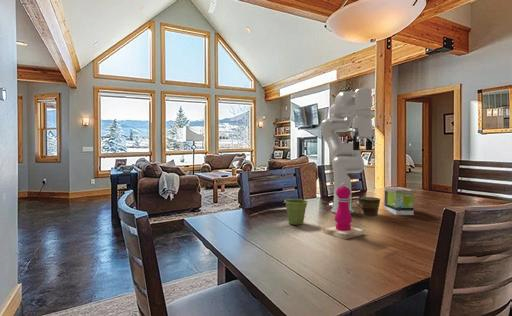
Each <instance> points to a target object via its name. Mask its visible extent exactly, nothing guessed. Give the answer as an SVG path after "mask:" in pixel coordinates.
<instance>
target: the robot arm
mask: <svg viewBox="0 0 512 316" xmlns="http://www.w3.org/2000/svg"><path fill="white" fill-rule="evenodd" d="M329 114H330V115H331V116H332V117H334V118H326V119H323V120H322V121H321V123H320V133H321V136H322V137H323V139H324V140H325V142H326V144H327V147H328V150H329V154H330V155H331V157H332V163H331V167H332V172H333V202H330V203H329V205H328V206H329V207H332V208H331V209H330V212H332V213H335V214H336V212H337V209H338V201H337V200H338V199H337V198H338V196H337V195H336V190H337V189H338V188H339V187H342V186H341V184H342V183H345V187H347V188H349V189H350V196H349V197H348V198H349V202H348V208H349V211H350V213H351V214H355V213H354V212H355V210H354V208H352V179H351V178H350V176H349V174H360V173H362V172H363V171H364V169H365V161H364V159H363V156H362V155H361V152H360V150H361V149H360V145H361V144H360V143H361V142H360V139H365V141H366V142H365V151H373V142H374V138H375V136H376V135H375V134H376V133H375V132H373V122H372V121H373V120H372V89H371V88H368V87H361V88H357V89H356V90H354V91H341V92H339V93H338V94H337V95H336V96H335V98H334V103H333V104H332V105H331V106H330V107H329ZM350 128H351V131H350V132H349V130H350ZM347 132H349V133H350V134H349V135H350V139H352V140H351V142H352V143H350V142H348V143H347V142H343V141H342V138H341V137H340V136H339V135H338V134H337V133H347Z"/></svg>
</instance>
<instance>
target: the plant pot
mask: <svg viewBox="0 0 512 316" xmlns="http://www.w3.org/2000/svg"><path fill="white" fill-rule="evenodd" d="M284 202H285V208H286V214H287V221H288V224H290V225H294V226H296V225H299V226H300V225H303V224H304V221H305V216H306V215H305V214H306V208H307V205H308V203H309V200H307V199H306V200H305V199H300V198H299V199H298V198H296V199H295V198H293V199H292V198H291V199H290V198H289V199H284Z"/></svg>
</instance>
